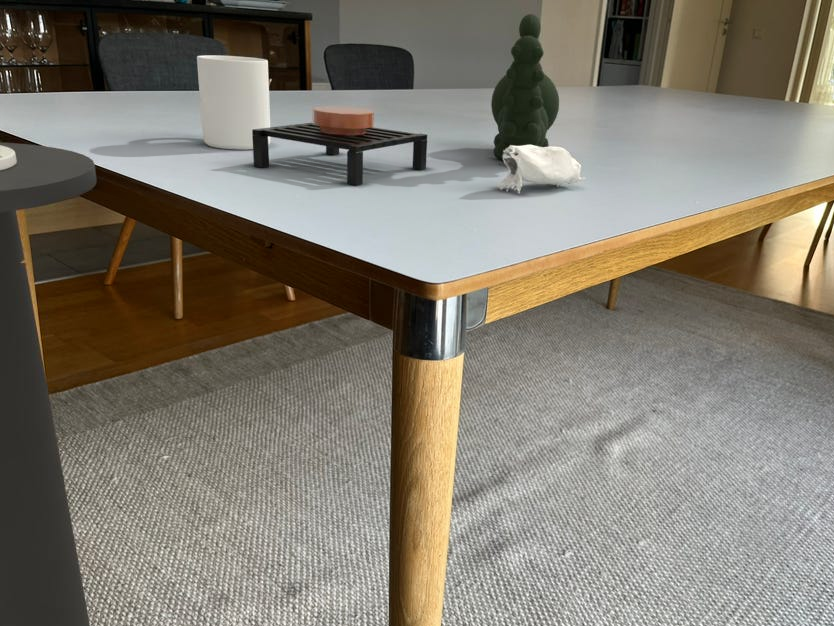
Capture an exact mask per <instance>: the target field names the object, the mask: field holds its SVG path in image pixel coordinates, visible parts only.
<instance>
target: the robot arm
mask: <svg viewBox="0 0 834 626" xmlns="http://www.w3.org/2000/svg"><path fill="white" fill-rule="evenodd" d="M16 162H17V160H16V154H15V151H14V150H12V149H11V148H8V147H5V146H1V145H0V171H2V170H6V169H8V168H11V167H13V166H14V165H15V164H16Z"/></svg>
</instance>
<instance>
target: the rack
mask: <svg viewBox="0 0 834 626" xmlns="http://www.w3.org/2000/svg"><path fill="white" fill-rule="evenodd" d="M268 137H271V138H273V139H281V140H286V141H293V142H299V143H305V144H312V145H315V146H316V145H318V146H323V147H325V154H326V155H330V156H337V155H340V150H347V151H346V171H347V172H346V179H347V180H346V183H347V185H351V186H360V185H363V183H364V152H365V151H372V150H377V149H382V148H383V149H384V148H389V147H395V146H400V145H405V144H410V143H412V144H413V145H412V170H417V171H422V170H426V169H427V157H428V155H427V154H428V150H427V149H428V134H427V133H414V132H407V131H400V130H394V129H387V128H380V127H374V126H373V127H371V128H367V133H366V134H363V135H334V134H327V133H323V132H321V131H320V126H318V125H315V124H313V122H304V123H297V124H296V123H295V124H289V125H278V126H270V128H261V129H253V130H252V138H253V149H252V155H253V167H255V168H261V169H263V168H268V167H269V168H270V155H269V154H270V152H269V145H268Z"/></svg>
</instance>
